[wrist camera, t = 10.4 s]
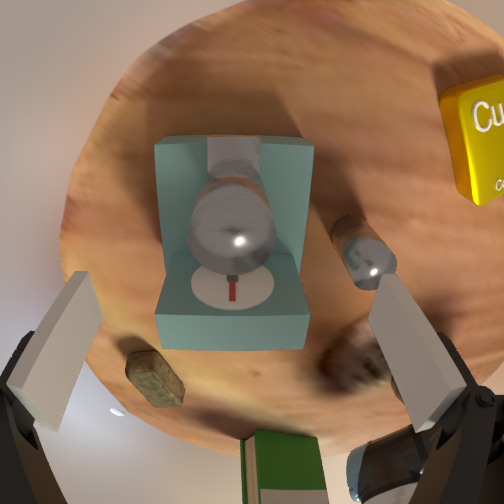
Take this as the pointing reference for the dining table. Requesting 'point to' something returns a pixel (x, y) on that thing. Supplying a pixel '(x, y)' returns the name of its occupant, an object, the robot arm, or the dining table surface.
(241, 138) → the platform
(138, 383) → the stone block
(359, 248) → the cylinder
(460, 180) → the element tile
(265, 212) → the cylinder
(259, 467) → the hardback book
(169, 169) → the scale body
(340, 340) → the dining table surface
